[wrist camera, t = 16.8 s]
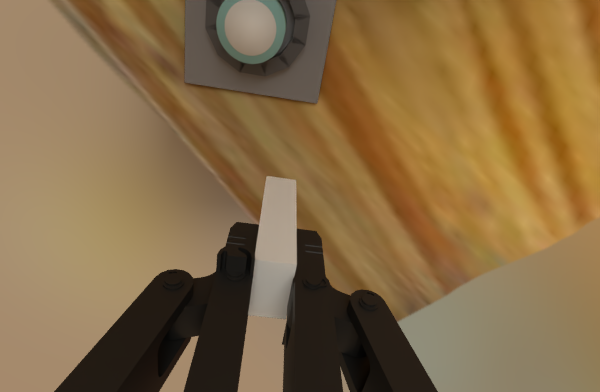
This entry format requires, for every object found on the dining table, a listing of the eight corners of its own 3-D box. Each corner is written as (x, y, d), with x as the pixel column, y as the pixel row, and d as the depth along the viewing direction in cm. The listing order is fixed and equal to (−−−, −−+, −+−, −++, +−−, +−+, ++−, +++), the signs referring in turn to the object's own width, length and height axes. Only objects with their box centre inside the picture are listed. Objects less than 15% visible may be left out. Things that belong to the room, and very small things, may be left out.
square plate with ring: (188, -82, 37) (180, -87, 34) (344, -51, 38) (348, -54, 36) (186, 80, 45) (180, 86, 42) (316, 101, 46) (318, 108, 43)
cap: (231, -18, 39) (218, -18, 32) (291, -5, 39) (290, -3, 33) (226, 46, 42) (213, 57, 36) (281, 57, 42) (279, 70, 36)
